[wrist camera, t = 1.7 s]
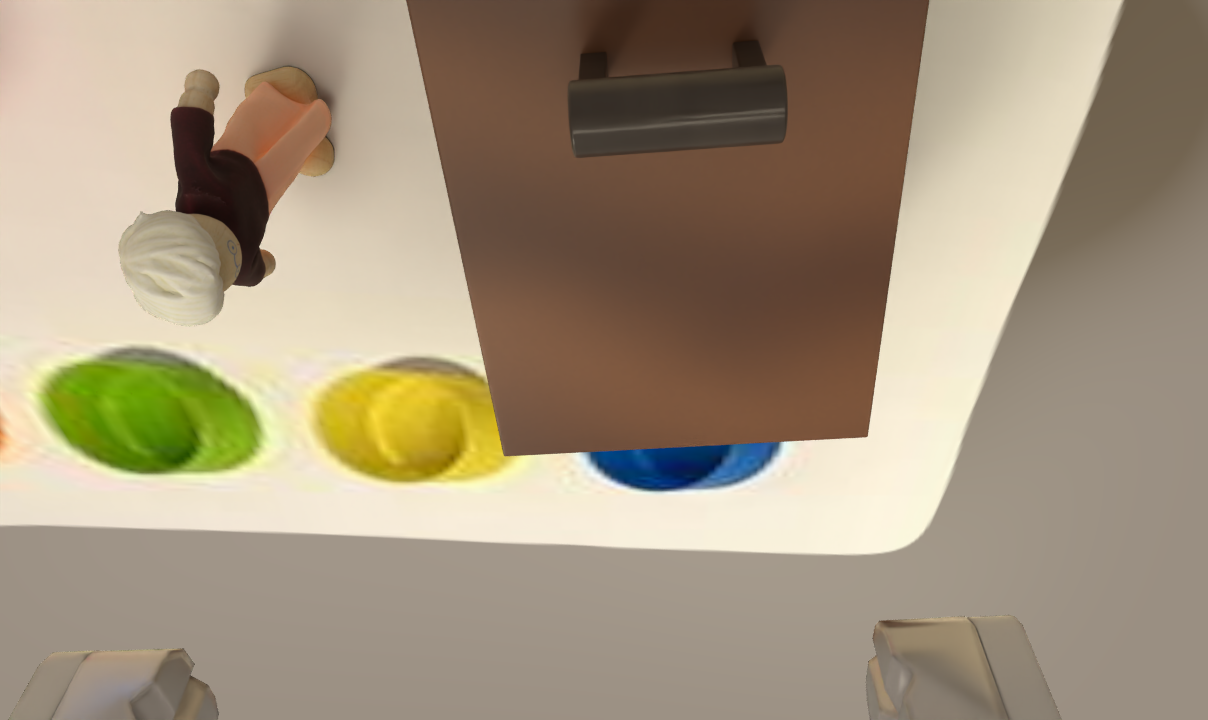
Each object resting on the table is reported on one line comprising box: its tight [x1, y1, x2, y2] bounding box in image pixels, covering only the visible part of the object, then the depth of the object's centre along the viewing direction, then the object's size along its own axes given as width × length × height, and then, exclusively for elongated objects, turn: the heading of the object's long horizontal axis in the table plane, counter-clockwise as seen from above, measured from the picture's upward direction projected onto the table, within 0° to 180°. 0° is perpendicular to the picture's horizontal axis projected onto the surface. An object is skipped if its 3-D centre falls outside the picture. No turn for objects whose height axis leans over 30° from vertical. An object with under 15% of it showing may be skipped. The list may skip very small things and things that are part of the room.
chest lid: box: [406, 0, 929, 456], centre depth 27 cm, size 17×13×5 cm
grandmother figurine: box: [118, 67, 334, 326], centre depth 30 cm, size 8×4×13 cm, turn 13°
